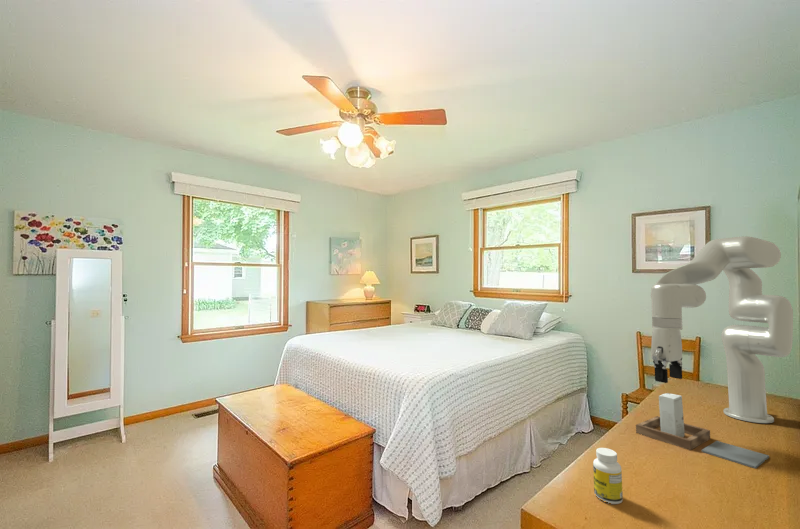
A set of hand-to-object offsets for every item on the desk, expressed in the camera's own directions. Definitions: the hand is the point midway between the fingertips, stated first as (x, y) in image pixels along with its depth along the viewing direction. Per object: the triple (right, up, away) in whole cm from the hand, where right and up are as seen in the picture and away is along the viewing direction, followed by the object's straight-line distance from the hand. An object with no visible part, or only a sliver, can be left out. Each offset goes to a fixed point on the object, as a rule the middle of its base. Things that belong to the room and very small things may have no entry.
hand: (668, 379), depth 111 cm
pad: (+8, -16, -13) cm, 22 cm away
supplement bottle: (-37, -16, -33) cm, 52 cm away
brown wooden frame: (+1, -17, -1) cm, 17 cm away
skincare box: (+1, -17, -1) cm, 17 cm away
